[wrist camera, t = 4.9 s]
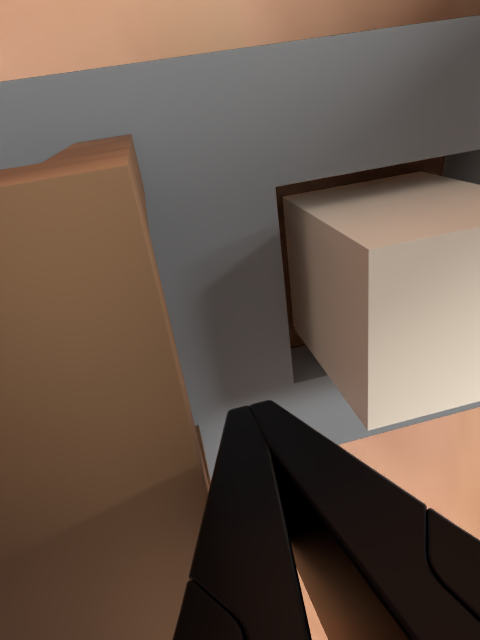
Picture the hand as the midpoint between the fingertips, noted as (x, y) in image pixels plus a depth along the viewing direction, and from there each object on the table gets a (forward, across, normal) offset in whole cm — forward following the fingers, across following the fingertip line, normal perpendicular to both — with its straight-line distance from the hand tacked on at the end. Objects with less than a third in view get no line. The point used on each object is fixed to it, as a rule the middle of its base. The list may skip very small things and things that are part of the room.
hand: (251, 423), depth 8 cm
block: (+7, -5, 0) cm, 8 cm away
